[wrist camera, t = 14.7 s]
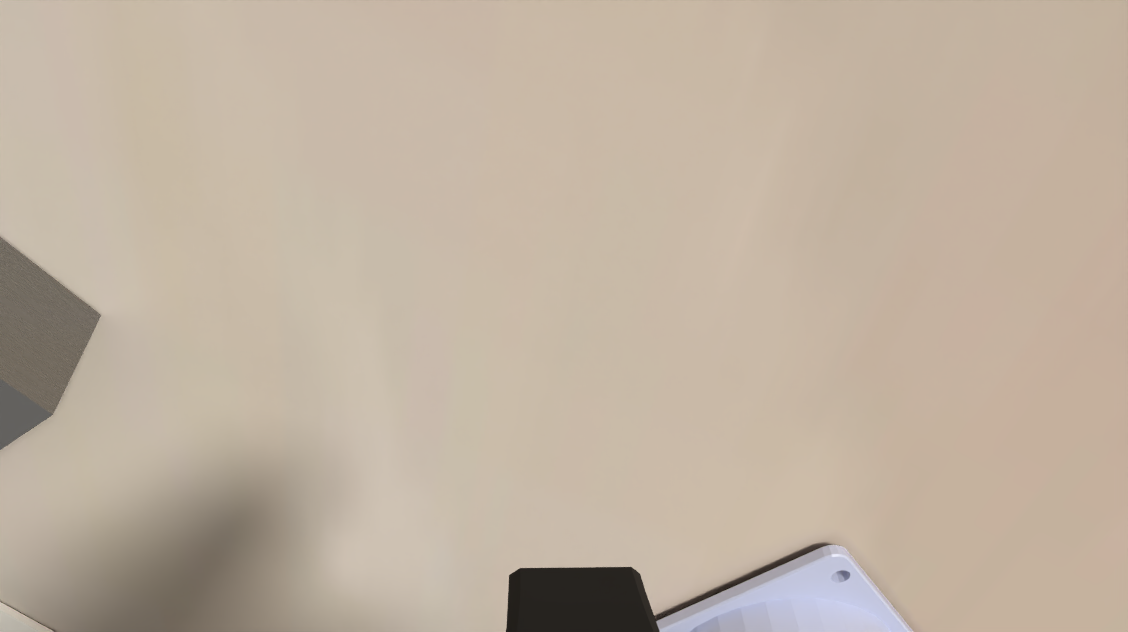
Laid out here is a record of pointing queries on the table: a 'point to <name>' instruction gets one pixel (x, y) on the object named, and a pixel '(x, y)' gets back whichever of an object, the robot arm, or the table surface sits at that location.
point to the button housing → (36, 342)
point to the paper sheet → (18, 621)
